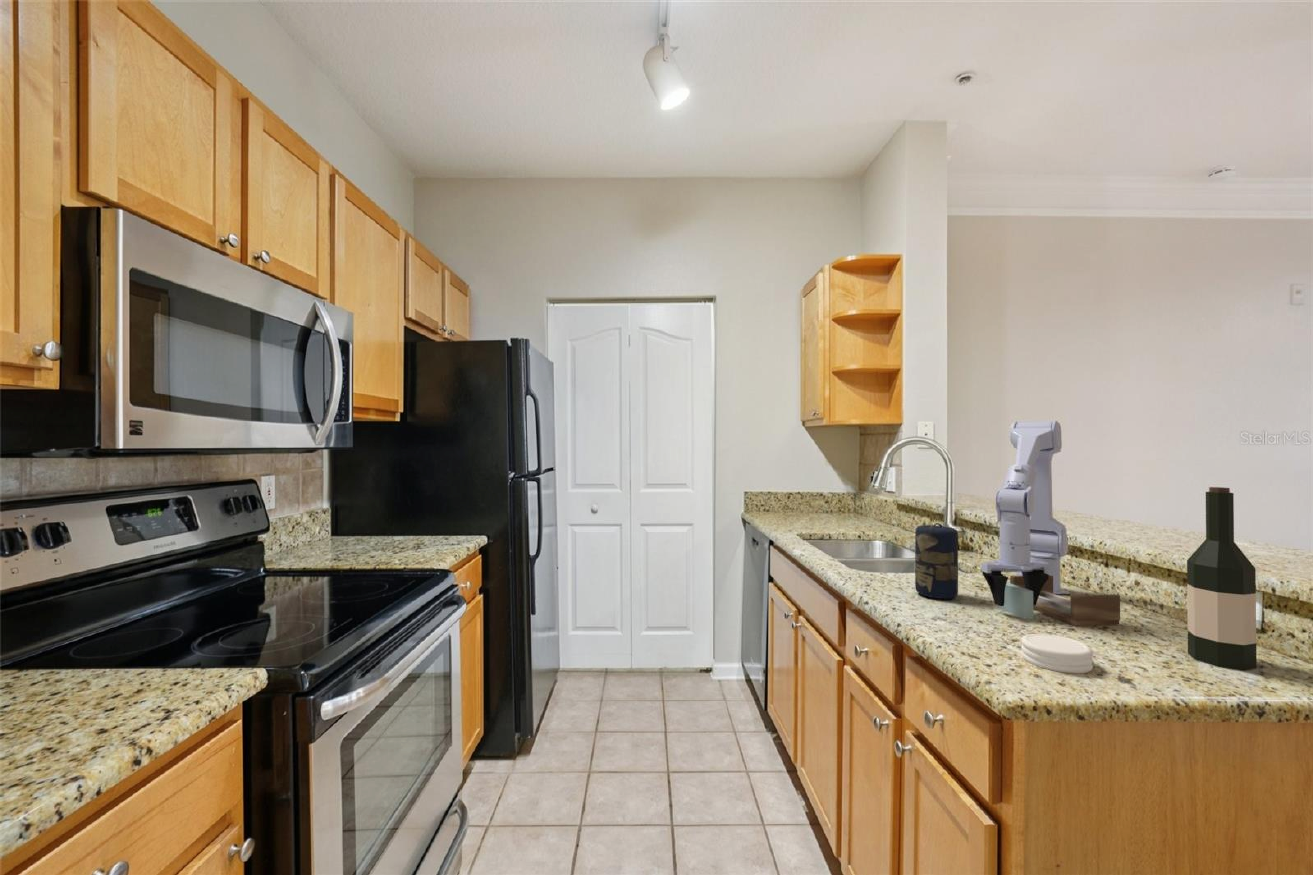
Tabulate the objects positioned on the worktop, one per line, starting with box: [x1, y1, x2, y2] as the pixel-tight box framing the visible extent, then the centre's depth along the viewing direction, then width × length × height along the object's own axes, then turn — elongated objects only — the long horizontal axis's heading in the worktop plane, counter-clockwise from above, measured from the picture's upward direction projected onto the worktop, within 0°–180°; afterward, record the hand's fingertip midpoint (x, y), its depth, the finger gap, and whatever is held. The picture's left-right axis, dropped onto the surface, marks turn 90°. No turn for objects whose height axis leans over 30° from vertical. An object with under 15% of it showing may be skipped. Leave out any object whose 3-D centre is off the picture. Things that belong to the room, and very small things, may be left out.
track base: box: [1009, 575, 1121, 627], centre depth 123 cm, size 18×10×6 cm, turn 5°
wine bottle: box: [1186, 486, 1258, 671], centre depth 95 cm, size 8×8×30 cm
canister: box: [914, 522, 959, 599], centre depth 136 cm, size 10×10×18 cm
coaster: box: [1020, 633, 1094, 674], centre depth 95 cm, size 10×10×4 cm
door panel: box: [997, 581, 1034, 620], centre depth 122 cm, size 8×2×6 cm, turn 5°
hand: (1015, 604), depth 122 cm, fingers open, 7 cm apart
